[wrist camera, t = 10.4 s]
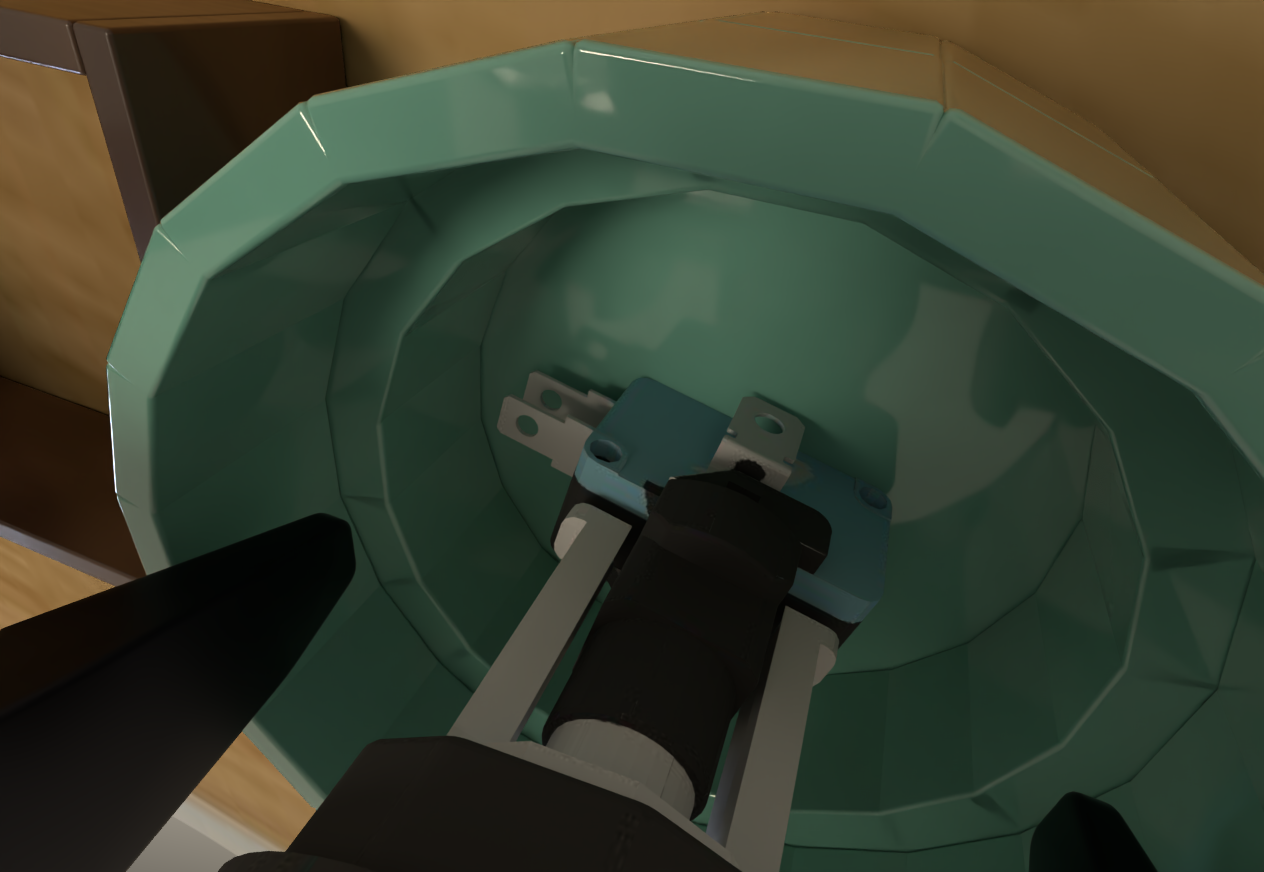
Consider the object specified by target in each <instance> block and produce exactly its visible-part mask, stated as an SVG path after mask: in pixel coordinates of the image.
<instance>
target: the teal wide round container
mask: <svg viewBox="0 0 1264 872" xmlns="http://www.w3.org/2000/svg"><path fill="white" fill-rule="evenodd" d="M106 359H107V361H108V364H107V366H106V373H107V387H108V401H109V415H110V429H111V444H112V458H113V472H114V486H115V491H116V493H117V494H118V495H117V500H118V503H119V505H120V508H121V510H122V513H123V516H124V518H125V521H126V523H127V526H128V529H129V531H130V534H131V536H132V539H133V542H134V544H135V547H136V549H137V552H138V555H139V557H140V560H141V562H142V565H143V567H144V570H145V573H146V575H149V574H152V573H154V572H157V571H160V570H163V569H165V568H168V567H171V566H173V565H176V564H179V563H182V562H184V561H187V560H190V559H193V558H195V557H198V556H201V555H203V554H206V553H209V552H212V551H214V550H217V549H220V548H222V547H225V546H228V545H231V544H233V543H236V542H239V541H241V540H244V539H247V538H250V537H252V536H255V535H258V534H260V533H263V532H266V531H269V530H271V529H274V528H277V527H279V526H282V525H285V524H288V523H290V522H293V521H296V520H298V519H301V518H304V517H307V516H309V515H312V514H315V513H327V514H330V515H332V516H335V517H338V518H340V519H343V520H345V521H347V522H348V523H349V525H350V526H351V530H352V537H353V543H354V550H355V557H356V571H355V574H354V577H353V579H352V581H351V583H350V584H349V586H348V587H347V589H346V590H345V592H344V593H343V595H342V596H341V598H340V599H339V601H338V602H337V603H336V605H335V606H334V608H333V609H332V611H331V612H330V614H329V615H328V617H327V618H326V620H325V621H324V623H323V624H322V626H321V627H320V629H319V630H318V632H317V633H316V635H315V636H314V638H313V639H312V641H311V642H310V644H309V645H308V647H307V648H306V650H305V651H304V653H303V654H302V656H301V657H300V659H299V660H298V661H297V663H296V664H295V666H294V667H293V668H292V670H291V671H290V673H289V674H288V675H287V677H286V678H285V679H284V681H283V682H282V683H281V684H280V686H279V687H278V688H277V689H276V691H275V692H274V693H273V694H272V695H271V697H270V698H269V699H268V700H267V702H266V703H265V704H264V705H263V706H262V708H261V709H260V710H259V711H258V712H257V714H256V715H255V716H254V717H253V718H252V720H251V721H250V722H249V723H248V725H247V726H246V727H245V728H244V729H243V733H244V734H245V735H246V736H247V737H248V738H249V739H250V740H251V741H252V742H253V743H254V745H255V746H256V747H257V748H258V749H259V750H260V751H261V752H262V753H263V754H264V755H265V757H266V758H267V759H268V760H269V761H270V762H271V763H272V764H273V765H274V766H275V767H276V769H277V770H278V771H279V772H280V773H281V774H282V775H283V776H284V777H285V778H286V779H287V781H288V782H289V783H290V784H291V785H292V786H293V787H294V788H295V789H296V790H297V791H298V793H299V794H300V795H301V796H302V797H303V798H304V799H305V800H306V801H307V802H308V803H309V805H310V806H311V807H313V808H316V811H317V809H318V808H319V807H320V805H321V804H322V803H323V801H324V800H325V799H326V797H327V796H328V795H329V793H330V792H331V791H332V789H333V788H334V787H335V785H336V784H337V783H338V781H339V780H340V779H341V778H342V776H343V775H344V774H345V772H346V771H347V770H348V768H349V767H350V766H351V764H352V763H353V762H354V760H355V759H356V758H357V756H358V755H359V754H360V752H361V751H362V750H363V749H364V748H365V746H366V745H367V744H369V743H371V742H374V741H376V740H379V739H390V738H409V737H428V736H446V735H447V734H448V732H449V731H450V729H451V728H452V726H453V725H454V723H455V722H456V720H457V719H458V717H459V715H460V714H461V712H462V711H463V709H464V708H465V706H466V705H467V703H468V702H469V700H470V699H471V697H472V696H473V694H474V693H475V691H476V690H477V688H478V686H479V685H480V683H481V682H482V680H483V679H484V677H485V676H486V674H487V673H488V671H489V670H490V668H491V667H492V665H493V664H494V662H495V661H496V659H497V657H498V656H499V654H500V653H501V651H502V650H503V648H504V647H505V645H506V644H507V642H508V641H509V639H510V638H511V636H512V635H513V633H514V632H515V630H516V628H517V627H518V625H519V624H520V622H521V621H522V619H523V618H524V616H525V615H526V613H527V612H528V610H529V609H530V607H531V606H532V604H533V603H534V601H535V599H536V598H537V596H538V595H539V593H540V592H541V590H542V589H543V587H544V586H545V584H546V583H547V581H548V580H549V578H550V577H551V575H552V574H553V572H554V570H555V569H556V567H557V566H558V564H559V563H560V561H561V560H562V559H560V558H559V557H558V555H557V554H556V552H555V551H554V550H553V548H552V547H551V543H550V538H551V535H552V532H553V529H554V526H555V524H556V521H557V518H558V516H559V513H560V510H561V507H562V504H563V502H564V499H565V496H566V493H567V490H568V488H569V485H570V482H571V479H572V477H571V476H569V475H567V474H565V473H563V472H562V471H560V470H558V469H556V468H554V467H552V466H551V463H552V460H553V459H551V458H549V457H547V456H545V455H543V454H541V453H539V452H537V451H535V450H533V449H531V448H529V447H528V446H526V445H524V444H522V443H520V442H518V441H516V440H514V439H512V438H510V437H508V436H506V435H504V434H502V433H500V431H499V429H498V428H497V424H498V420H499V416H500V412H501V408H502V404H503V400H504V398H505V397H506V396H507V395H511V394H513V395H515V396H517V397H519V398H521V399H523V397H524V393H525V390H526V386H527V382H528V379H529V375H530V373H531V372H533V371H536V370H538V371H540V372H542V373H544V374H546V375H548V376H550V377H552V378H554V379H556V380H558V381H560V382H562V383H564V384H566V385H568V386H570V387H572V388H574V389H576V390H578V391H580V392H582V393H584V394H586V395H588V393H589V391H590V389H592V390H594V391H596V392H598V393H600V394H602V395H604V396H606V397H608V398H610V399H612V400H614V401H618V399H619V398H620V397H621V395H622V394H623V393H624V392H625V390H626V389H627V388H628V386H629V385H630V384H631V383H632V381H634V380H636V379H637V378H649V379H652V380H655V381H657V382H659V383H662V384H664V385H666V386H668V387H670V388H672V389H674V390H676V391H678V392H680V393H682V394H684V395H686V396H688V397H690V398H692V399H694V400H696V401H698V402H700V403H702V404H704V405H706V406H708V407H710V408H712V409H714V410H716V411H719V412H721V413H723V414H725V415H727V416H729V417H731V418H733V416H734V414H735V412H736V410H737V408H738V406H739V404H740V402H741V400H742V398H743V397H756V398H758V399H761V400H763V401H765V402H767V403H769V404H771V405H773V406H775V407H777V408H779V409H781V410H783V411H785V412H787V413H789V414H791V415H793V416H795V417H797V418H798V419H799V420H800V421H801V423H802V424H803V425H804V426H805V430H804V433H803V436H802V440H801V443H800V446H799V449H798V451H800V452H802V453H804V454H806V455H808V456H810V457H812V458H814V459H816V460H818V461H820V462H822V463H824V464H826V465H828V466H830V467H832V468H835V469H837V470H839V471H841V472H843V473H845V474H847V475H849V476H851V477H853V478H856V477H857V478H859V479H861V480H863V481H865V482H867V483H869V484H871V485H873V486H875V487H876V488H878V489H879V490H881V491H882V492H884V493H885V494H886V496H887V497H888V498H889V499H890V500H891V504H892V518H891V521H890V529H889V540H888V551H887V562H886V573H885V583H884V594H883V595H882V597H881V599H880V600H879V602H878V603H877V604H876V605H875V606H874V608H873V609H872V610H871V611H870V612H869V613H868V615H867V616H866V617H865V618H864V620H863V621H862V622H861V623H860V624H859V626H858V627H857V628H856V629H855V630H854V631H853V633H852V634H851V635H850V636H849V637H848V638H847V640H846V641H845V642H844V643H843V644H842V646H841V647H840V648H839V649H838V651H837V658H836V662H835V665H834V666H833V668H832V669H831V670H830V671H829V672H828V673H827V675H826V676H825V677H824V678H823V679H822V680H821V681H820V683H818V684H816V685H814V686H813V687H812V693H811V698H810V704H809V709H808V715H807V720H806V726H805V731H804V737H803V742H802V748H801V753H800V759H799V764H798V770H797V775H796V781H795V786H794V792H793V797H792V803H791V808H790V814H789V819H788V825H787V830H786V836H785V841H784V847H783V853H782V858H781V864H780V869H779V872H1029V854H1030V844H1031V839H1032V836H1033V833H1034V831H1035V829H1036V827H1037V826H1038V824H1039V823H1040V822H1041V821H1042V820H1043V819H1044V817H1045V816H1046V815H1047V814H1048V813H1049V812H1050V811H1051V809H1052V808H1053V807H1054V806H1055V805H1056V804H1057V802H1058V801H1059V800H1060V799H1061V798H1062V797H1063V796H1064V795H1065V794H1066V793H1069V792H1072V791H1075V792H1079V793H1082V794H1085V795H1088V796H1090V797H1093V798H1096V799H1098V800H1101V801H1104V802H1106V803H1108V804H1110V805H1112V806H1113V807H1114V808H1115V809H1116V810H1117V811H1118V812H1119V813H1120V814H1121V816H1122V817H1123V819H1124V820H1125V822H1126V823H1127V825H1128V826H1129V828H1130V829H1131V831H1132V832H1133V834H1134V835H1135V837H1136V839H1137V840H1138V842H1139V843H1140V845H1141V846H1142V848H1143V849H1144V851H1145V852H1146V854H1147V855H1148V857H1149V859H1150V860H1151V862H1152V863H1153V865H1154V866H1155V868H1156V869H1157V871H1158V872H1264V274H1263V273H1262V272H1260V271H1259V270H1258V269H1257V268H1256V267H1255V266H1254V265H1253V264H1251V263H1250V262H1249V261H1248V260H1247V259H1246V258H1245V257H1244V256H1242V255H1241V254H1240V253H1239V252H1238V251H1237V250H1236V249H1235V248H1233V247H1232V246H1231V245H1230V244H1229V243H1228V242H1227V241H1225V240H1224V239H1223V238H1222V237H1221V236H1220V235H1219V234H1218V233H1216V232H1215V231H1214V230H1213V229H1212V228H1211V227H1210V226H1209V225H1207V224H1206V223H1205V222H1204V221H1203V220H1202V219H1201V218H1200V217H1198V216H1197V215H1196V214H1195V213H1194V212H1193V211H1192V210H1191V209H1189V208H1188V207H1187V206H1186V205H1185V204H1184V203H1183V202H1182V201H1180V200H1179V199H1178V198H1177V197H1176V196H1175V195H1174V194H1173V193H1171V192H1170V191H1169V190H1168V189H1167V188H1166V187H1165V186H1164V185H1163V184H1162V183H1161V182H1160V181H1159V180H1157V179H1156V178H1155V177H1154V176H1153V175H1152V174H1151V173H1149V172H1148V171H1147V170H1146V169H1145V168H1144V167H1143V166H1142V165H1140V164H1139V163H1138V162H1137V161H1136V160H1135V159H1134V158H1133V157H1131V156H1130V155H1129V154H1128V153H1127V152H1126V151H1125V150H1124V149H1122V148H1121V147H1120V146H1119V145H1118V144H1117V143H1116V142H1114V141H1113V140H1112V139H1111V138H1110V137H1109V136H1108V135H1107V134H1105V133H1104V132H1103V131H1101V130H1100V129H1099V128H1098V127H1096V126H1095V125H1094V124H1092V123H1091V122H1089V121H1087V120H1086V119H1084V118H1082V117H1080V116H1079V115H1077V114H1075V113H1073V112H1072V111H1070V110H1068V109H1067V108H1065V107H1063V106H1061V105H1060V104H1058V103H1056V102H1054V101H1053V100H1051V99H1049V98H1048V97H1046V96H1044V95H1042V94H1041V93H1039V92H1037V91H1035V90H1034V89H1032V88H1030V87H1029V86H1027V85H1025V84H1023V83H1022V82H1020V81H1018V80H1016V79H1015V78H1013V77H1011V76H1010V75H1008V74H1006V73H1004V72H1003V71H1001V70H999V69H997V68H996V67H994V66H992V65H991V64H989V63H987V62H985V61H984V60H982V59H980V58H978V57H977V56H975V55H973V54H972V53H970V52H968V51H966V50H965V49H963V48H961V47H959V46H958V45H956V44H954V43H953V42H951V41H943V42H942V43H941V44H940V39H938V38H937V37H935V36H931V35H925V34H918V33H912V32H905V31H899V30H893V29H886V28H880V27H873V26H867V25H860V24H854V23H847V22H841V21H835V20H828V19H822V18H815V17H809V16H802V15H796V14H789V13H783V12H777V11H776V12H769V13H767V12H764V11H762V12H755V13H748V14H740V15H733V16H726V17H719V18H712V19H705V20H699V21H691V22H684V23H676V24H669V25H662V26H655V27H648V28H641V29H634V30H626V31H619V32H612V33H605V34H598V35H591V36H584V37H577V38H569V39H563V40H558V41H554V42H549V43H545V44H540V45H536V46H531V47H527V48H522V49H518V50H513V51H509V52H504V53H500V54H496V55H491V56H487V57H482V58H478V59H473V60H469V61H464V62H460V63H455V64H451V65H446V66H442V67H437V68H433V69H428V70H424V71H419V72H415V73H410V74H406V75H401V76H397V77H392V78H388V79H383V80H379V81H374V82H370V83H366V84H361V85H357V86H352V87H348V88H343V89H339V90H334V91H330V92H325V93H321V94H316V95H313V96H312V97H311V98H310V99H309V100H308V101H303V102H299V103H298V104H297V105H295V106H294V107H293V108H292V109H291V110H289V111H288V112H287V113H286V114H285V115H284V116H282V117H281V118H280V119H279V120H278V121H276V122H275V123H274V124H273V125H272V126H271V127H269V128H268V129H267V130H266V131H265V132H263V133H262V134H261V135H260V136H259V137H257V138H256V139H255V140H254V141H253V142H252V143H250V144H249V145H248V146H247V147H246V148H244V149H243V150H242V151H241V152H240V153H239V154H237V155H236V156H235V157H234V158H233V159H231V160H230V161H229V162H228V163H227V164H226V165H224V166H223V167H222V168H221V169H220V170H218V171H217V172H216V173H215V174H214V175H212V176H211V177H210V178H209V179H208V180H207V181H205V182H204V183H203V184H202V185H201V186H199V187H198V188H197V189H196V190H195V191H194V192H192V193H191V194H190V195H189V196H188V197H186V198H185V199H184V200H183V201H182V202H180V203H179V204H178V205H177V206H176V207H175V208H173V209H172V210H171V211H170V212H169V213H167V214H166V215H165V216H164V217H163V218H162V219H161V221H160V224H158V225H157V226H156V227H155V228H154V230H153V233H152V235H151V238H150V241H149V243H148V246H147V249H146V252H145V254H144V257H143V260H142V263H141V265H140V268H139V271H138V273H137V276H136V279H135V282H134V284H133V287H132V290H131V293H130V295H129V298H128V301H127V303H126V306H125V309H124V312H123V314H122V317H121V320H120V322H119V325H118V328H117V331H116V333H115V336H114V339H113V342H112V344H111V347H110V350H109V352H108V355H107V358H106ZM542 397H543V401H544V402H545V404H546V405H548V406H549V407H550V408H554V409H557V408H560V407H561V405H562V400H561V398H560V396H559V394H557V393H556V392H555V391H552V390H544V391H543V394H542ZM755 421H756V423H757V424H758V425H759V426H760V427H761V428H762V429H763V430H765V431H767V432H770V433H772V434H781V433H782V429H781V427H780V426H779V425H778V424H777V423H776V422H774V421H773V420H771V419H769V418H766V417H760V416H759V417H755ZM518 424H519V426H520V428H521V429H522V430H523V431H524V432H525V433H527V434H531V435H533V434H537V433H538V430H539V429H538V424H537V423H536V421H535V420H534V419H533V418H531V417H530V416H527V415H520V416H519V418H518ZM610 589H611V587H610V585H609V583H608V582H607V581H606V582H605V584H604V585H603V587H602V589H601V591H600V592H599V594H598V596H597V598H596V600H595V601H594V603H593V605H592V607H591V608H590V610H589V612H588V614H587V616H586V617H585V619H584V621H583V623H582V625H581V626H580V628H579V630H578V632H577V633H576V635H575V637H574V639H573V641H572V642H571V644H570V646H569V648H568V649H567V651H566V653H565V655H564V657H563V658H562V660H561V662H560V664H559V665H558V667H557V669H556V671H555V673H554V674H553V676H552V678H551V680H550V682H549V683H548V685H547V687H546V689H545V690H544V692H543V694H542V696H541V698H540V699H539V701H538V703H537V705H536V706H535V708H534V710H533V712H532V714H531V715H530V717H529V719H528V721H527V723H526V724H525V726H524V728H523V730H522V731H521V733H520V735H519V737H518V739H517V740H516V742H521V741H532V742H535V743H537V744H540V745H542V731H543V727H544V725H545V723H546V721H547V719H548V717H549V715H550V713H551V711H552V709H553V707H554V706H555V704H556V702H557V700H558V698H559V696H560V694H561V692H562V691H563V689H564V687H565V685H566V683H567V681H568V679H569V678H570V676H571V674H572V669H573V666H574V664H575V662H576V660H577V658H578V655H579V653H580V651H581V649H582V647H583V645H584V643H585V640H586V638H587V636H588V634H589V632H590V630H591V627H592V625H593V623H594V621H595V619H596V617H597V615H598V612H599V610H600V608H601V606H602V604H603V602H604V600H605V598H606V597H607V595H608V593H609V591H610ZM739 710H740V709H739ZM739 710H738V712H737V713H736V714H735V715H734V717H733V718H732V719H731V721H730V724H729V728H728V731H727V735H726V738H725V742H724V745H723V749H722V752H721V756H720V759H719V763H718V766H717V770H716V773H715V777H714V780H713V784H712V787H711V791H710V794H709V798H708V801H707V804H706V807H705V808H704V810H703V812H702V813H701V814H700V815H699V816H698V817H696V818H695V819H694V820H692V821H691V822H692V823H693V824H694V825H696V826H697V827H698V828H700V829H701V830H702V831H703V832H705V833H706V830H707V826H708V822H709V819H710V815H711V811H712V808H713V804H714V801H715V797H716V793H717V790H718V786H719V783H720V779H721V775H722V772H723V768H724V764H725V761H726V757H727V754H728V750H729V746H730V743H731V739H732V735H733V732H734V728H735V725H736V721H737V717H738V714H739Z"/></svg>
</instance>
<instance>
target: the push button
mask: <svg viewBox="0 0 1264 872" xmlns="http://www.w3.org/2000/svg"><path fill="white" fill-rule="evenodd" d="M544 390H552V391H555V392H556V393H557V394H559V396H560V398H561V400H562V405H561V407H560V408H557V409H554V408H550V407H549V406H548V405H546V404H545V402H544V401H543V397H542V394H543V391H544ZM520 415H527V416H530V417H531V418H533V419H534V420H535V421H536V423H537V424H538V429H539V430H538V433H537V434H533V435H531V434H527V433H525V432H524V431H523V430H522V429H521V428H520V426H519V424H518V418H519V416H520ZM759 416H760V417H766V418H769V419H771V420H773V421H774V422H776V423H777V424H778V425H779V426H780V427H781V429H782V433H781V434H772V433H770V432H767V431H765V430H763V429H762V428H761V427H760V426H759V425H758V424H757V423H756V421H755V417H759ZM497 428H498V429H499V431H500V433H502V434H504V435H506V436H508V437H510V438H512V439H514V440H516V441H518V442H520V443H522V444H524V445H526V446H528V447H529V448H531V449H533V450H535V451H537V452H539V453H541V454H543V455H545V456H547V457H549V458H551V459H553V460H552V463H551V466H552V467H554V468H556V469H558V470H560V471H562V472H563V473H565V474H567V475H569V476H571V477H572V479H571V482H570V485H569V488H568V490H567V493H566V496H565V499H564V502H563V504H562V507H561V510H560V513H559V516H558V518H557V521H556V524H555V526H554V529H553V532H552V535H551V538H550V543H551V547H552V548H553V550H554V551H555V552H556V554H557V555H558V557H559V558H560V559H562V560H561V561H560V563H559V564H558V566H557V567H556V569H555V570H554V572H553V574H552V575H551V577H550V578H549V580H548V581H547V583H546V584H545V586H544V587H543V589H542V590H541V592H540V593H539V595H538V596H537V598H536V599H535V601H534V603H533V604H532V606H531V607H530V609H529V610H528V612H527V613H526V615H525V616H524V618H523V619H522V621H521V622H520V624H519V625H518V627H517V628H516V630H515V632H514V633H513V635H512V636H511V638H510V639H509V641H508V642H507V644H506V645H505V647H504V648H503V650H502V651H501V653H500V654H499V656H498V657H497V659H496V661H495V662H494V664H493V665H492V667H491V668H490V670H489V671H488V673H487V674H486V676H485V677H484V679H483V680H482V682H481V683H480V685H479V686H478V688H477V690H476V691H475V693H474V694H473V696H472V697H471V699H470V700H469V702H468V703H467V705H466V706H465V708H464V709H463V711H462V712H461V714H460V715H459V717H458V719H457V720H456V722H455V723H454V725H453V726H452V728H451V729H450V731H449V732H448V734H447V735H446V736H428V737H409V738H390V739H379V740H376V741H374V742H371V743H369V744H367V745H366V746H365V748H364V749H363V750H362V751H361V752H360V754H359V755H358V756H357V758H356V759H355V760H354V762H353V763H352V764H351V766H350V767H349V768H348V770H347V771H346V772H345V774H344V775H343V776H342V778H341V779H340V780H339V781H338V783H337V784H336V785H335V787H334V788H333V789H332V791H331V792H330V793H329V795H328V796H327V797H326V799H325V800H324V801H323V803H322V804H321V805H320V807H319V808H318V809H317V811H316V812H315V813H314V815H313V816H312V817H311V819H310V820H309V821H308V822H307V824H306V825H305V826H304V828H303V829H302V830H301V832H300V833H299V834H298V836H297V837H296V838H295V840H294V841H293V842H292V844H291V845H290V846H289V848H288V849H287V850H286V852H276V851H265V852H254V853H247V854H244V855H241V856H237V857H234V858H233V859H231V860H230V861H228V862H226V863H225V864H224V865H223V866H222V867H221V868H220V869H219V871H218V872H779V869H780V864H781V858H782V853H783V847H784V841H785V836H786V830H787V825H788V819H789V814H790V808H791V803H792V797H793V792H794V786H795V781H796V775H797V770H798V764H799V759H800V753H801V748H802V742H803V737H804V731H805V726H806V720H807V715H808V709H809V704H810V698H811V693H812V687H813V686H814V685H816V684H818V683H820V681H821V680H822V679H823V678H824V677H825V676H826V675H827V673H828V672H829V671H830V670H831V669H832V668H833V666H834V665H835V662H836V658H837V651H838V649H839V648H840V647H841V646H842V644H843V643H844V642H845V641H846V640H847V638H848V637H849V636H850V635H851V634H852V633H853V631H854V630H855V629H856V628H857V627H858V626H859V624H860V623H861V622H862V621H863V620H864V618H865V617H866V616H867V615H868V613H869V612H870V611H871V610H872V609H873V608H874V606H875V605H876V604H877V603H878V602H879V600H880V599H881V597H882V595H883V594H884V583H885V573H886V562H887V551H888V540H889V529H890V521H891V518H892V504H891V500H890V499H889V498H888V497H887V496H886V494H885V493H884V492H882V491H881V490H879V489H878V488H876V487H875V486H873V485H871V484H869V483H867V482H865V481H863V480H861V479H859V478H857V477H856V478H853V477H851V476H849V475H847V474H845V473H843V472H841V471H839V470H837V469H835V468H832V467H830V466H828V465H826V464H824V463H822V462H820V461H818V460H816V459H814V458H812V457H810V456H808V455H806V454H804V453H802V452H800V451H798V449H799V446H800V443H801V440H802V436H803V433H804V430H805V426H804V425H803V424H802V423H801V421H800V420H799V419H798V418H797V417H795V416H793V415H791V414H789V413H787V412H785V411H783V410H781V409H779V408H777V407H775V406H773V405H771V404H769V403H767V402H765V401H763V400H761V399H758V398H756V397H743V398H742V400H741V402H740V404H739V406H738V408H737V410H736V412H735V414H734V416H733V418H731V417H729V416H727V415H725V414H723V413H721V412H719V411H716V410H714V409H712V408H710V407H708V406H706V405H704V404H702V403H700V402H698V401H696V400H694V399H692V398H690V397H688V396H686V395H684V394H682V393H680V392H678V391H676V390H674V389H672V388H670V387H668V386H666V385H664V384H662V383H659V382H657V381H655V380H652V379H649V378H637V379H636V380H634V381H632V383H631V384H630V385H629V386H628V388H627V389H626V390H625V392H624V393H623V394H622V395H621V397H620V398H619V399H618V401H614V400H612V399H610V398H608V397H606V396H604V395H602V394H600V393H598V392H596V391H594V390H592V389H590V391H589V393H588V395H586V394H584V393H582V392H580V391H578V390H576V389H574V388H572V387H570V386H568V385H566V384H564V383H562V382H560V381H558V380H556V379H554V378H552V377H550V376H548V375H546V374H544V373H542V372H540V371H538V370H536V371H533V372H531V373H530V375H529V379H528V382H527V386H526V390H525V393H524V397H523V399H521V398H519V397H517V396H515V395H513V394H511V395H507V396H506V397H505V398H504V400H503V404H502V408H501V412H500V416H499V420H498V424H497ZM606 581H607V582H608V583H609V585H610V587H611V589H610V591H609V593H608V595H607V597H606V598H605V600H604V602H603V604H602V606H601V608H600V610H599V612H598V615H597V617H596V619H595V621H594V623H593V625H592V627H591V630H590V632H589V634H588V636H587V638H586V640H585V643H584V645H583V647H582V649H581V651H580V653H579V655H578V658H577V660H576V662H575V664H574V666H573V669H572V674H571V676H570V678H569V679H568V681H567V683H566V685H565V687H564V689H563V691H562V692H561V694H560V696H559V698H558V700H557V702H556V704H555V706H554V707H553V709H552V711H551V713H550V715H549V717H548V719H547V721H546V723H545V725H544V727H543V731H542V745H540V744H537V743H535V742H532V741H521V742H516V740H517V739H518V737H519V735H520V733H521V731H522V730H523V728H524V726H525V724H526V723H527V721H528V719H529V717H530V715H531V714H532V712H533V710H534V708H535V706H536V705H537V703H538V701H539V699H540V698H541V696H542V694H543V692H544V690H545V689H546V687H547V685H548V683H549V682H550V680H551V678H552V676H553V674H554V673H555V671H556V669H557V667H558V665H559V664H560V662H561V660H562V658H563V657H564V655H565V653H566V651H567V649H568V648H569V646H570V644H571V642H572V641H573V639H574V637H575V635H576V633H577V632H578V630H579V628H580V626H581V625H582V623H583V621H584V619H585V617H586V616H587V614H588V612H589V610H590V608H591V607H592V605H593V603H594V601H595V600H596V598H597V596H598V594H599V592H600V591H601V589H602V587H603V585H604V584H605V582H606ZM739 709H740V710H739ZM738 710H739V714H738V717H737V721H736V725H735V728H734V732H733V735H732V739H731V743H730V746H729V750H728V754H727V757H726V761H725V764H724V768H723V772H722V775H721V779H720V783H719V786H718V790H717V793H716V797H715V801H714V804H713V808H712V811H711V815H710V819H709V822H708V826H707V830H706V833H705V832H703V831H702V830H701V829H700V828H698V827H697V826H696V825H694V824H693V823H692V822H691V821H692V820H694V819H695V818H696V817H698V816H699V815H700V814H701V813H702V812H703V810H704V808H705V807H706V804H707V801H708V798H709V794H710V791H711V787H712V784H713V780H714V777H715V773H716V770H717V766H718V763H719V759H720V756H721V752H722V749H723V745H724V742H725V738H726V735H727V731H728V728H729V724H730V721H731V719H732V718H733V717H734V715H735V714H736V713H737V712H738Z"/></svg>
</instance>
